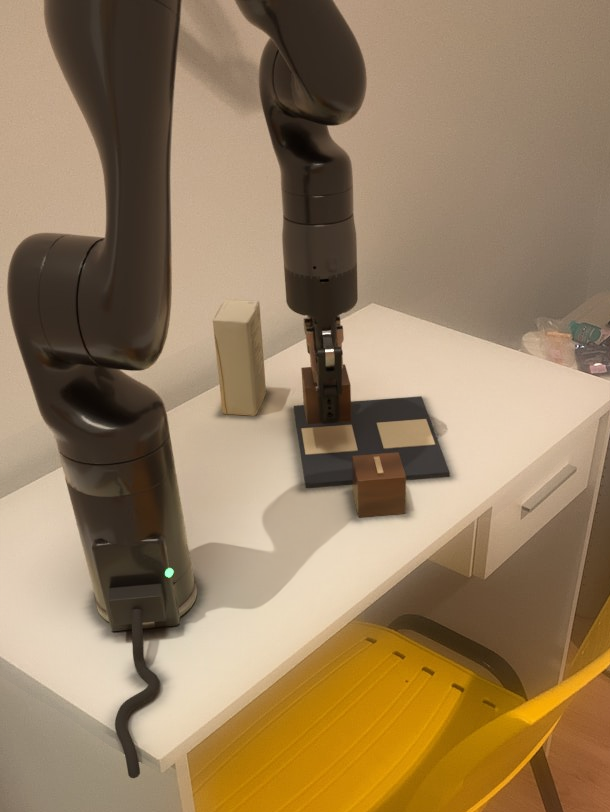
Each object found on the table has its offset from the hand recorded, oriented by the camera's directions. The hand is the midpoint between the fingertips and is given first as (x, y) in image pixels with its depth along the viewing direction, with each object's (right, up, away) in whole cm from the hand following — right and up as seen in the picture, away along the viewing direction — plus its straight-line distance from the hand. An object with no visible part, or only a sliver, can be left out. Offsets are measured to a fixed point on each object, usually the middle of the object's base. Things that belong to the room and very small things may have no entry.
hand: (326, 409), depth 109 cm
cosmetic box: (-11, +3, +11) cm, 15 cm away
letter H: (0, 0, 0) cm, 0 cm away
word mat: (+5, -3, +3) cm, 6 cm away
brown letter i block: (+6, -12, -7) cm, 15 cm away
